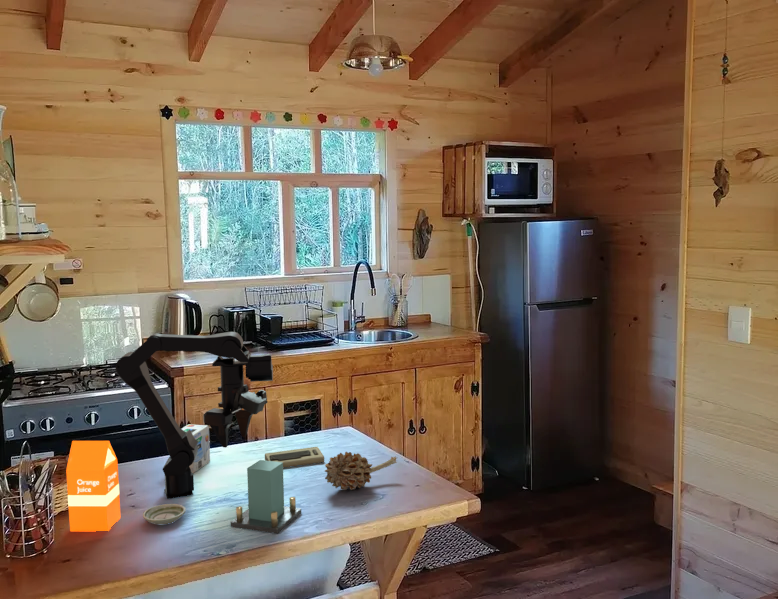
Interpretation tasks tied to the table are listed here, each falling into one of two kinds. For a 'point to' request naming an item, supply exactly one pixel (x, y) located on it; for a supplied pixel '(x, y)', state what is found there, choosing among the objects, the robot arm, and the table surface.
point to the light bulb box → (200, 445)
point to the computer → (296, 456)
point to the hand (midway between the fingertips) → (234, 441)
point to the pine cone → (351, 470)
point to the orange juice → (92, 486)
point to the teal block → (265, 489)
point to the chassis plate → (267, 526)
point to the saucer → (164, 513)
